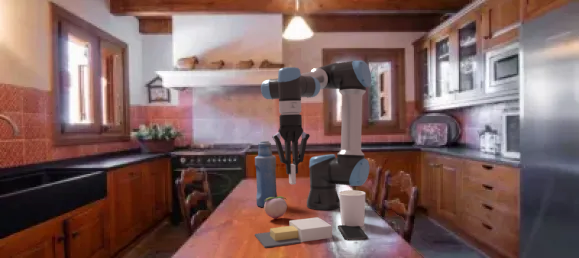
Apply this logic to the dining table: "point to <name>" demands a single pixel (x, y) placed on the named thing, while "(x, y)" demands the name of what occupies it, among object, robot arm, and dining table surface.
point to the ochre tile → (283, 233)
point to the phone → (352, 232)
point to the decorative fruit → (275, 206)
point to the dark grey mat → (270, 242)
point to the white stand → (312, 229)
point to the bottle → (265, 173)
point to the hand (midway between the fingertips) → (292, 183)
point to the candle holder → (352, 207)
